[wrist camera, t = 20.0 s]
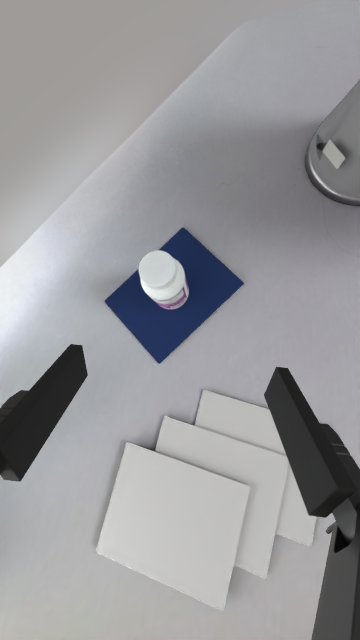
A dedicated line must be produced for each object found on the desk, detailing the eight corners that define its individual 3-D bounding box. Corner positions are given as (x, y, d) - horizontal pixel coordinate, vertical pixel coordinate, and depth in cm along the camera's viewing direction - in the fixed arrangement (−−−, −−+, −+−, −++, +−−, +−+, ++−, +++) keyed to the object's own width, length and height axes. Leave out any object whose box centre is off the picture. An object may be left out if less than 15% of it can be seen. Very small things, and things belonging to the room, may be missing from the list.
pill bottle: (157, 274, 31) (136, 241, 22) (191, 277, 30) (185, 244, 21) (151, 308, 30) (127, 289, 21) (186, 312, 30) (178, 295, 20)
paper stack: (147, 372, 29) (145, 373, 28) (331, 428, 25) (335, 430, 25) (98, 547, 27) (95, 552, 26) (295, 637, 23) (298, 646, 22)
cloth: (183, 228, 32) (183, 227, 32) (243, 283, 30) (243, 283, 29) (105, 301, 32) (104, 301, 31) (159, 363, 29) (159, 363, 29)
